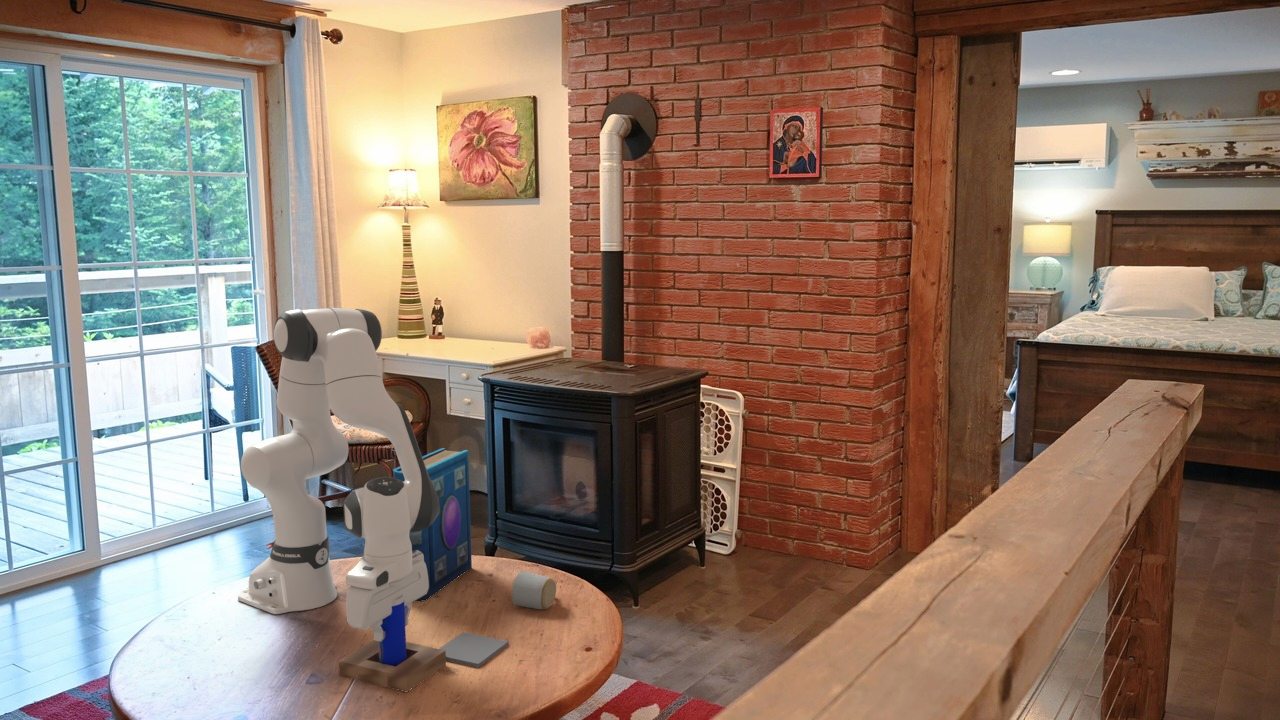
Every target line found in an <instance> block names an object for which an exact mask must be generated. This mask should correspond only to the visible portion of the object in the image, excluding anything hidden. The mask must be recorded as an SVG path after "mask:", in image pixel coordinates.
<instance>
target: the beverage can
mask: <svg viewBox="0 0 1280 720" xmlns="http://www.w3.org/2000/svg"><path fill="white" fill-rule="evenodd" d="M380 626H381V628H382V630H386V639H384V640H382V641H381V642H379V641H378V651H379V663H382V664H386V665H391V666H395V667H396V666H398V665H399V664H401V663H402V662H404V661H405V660H407V657H406V642H407V637H406V636H407V635H406V633H407V631H406V626H405V606H404V598H403V595H402V596H401V597H399V598H398V599H395V600H393V602H392V613H391V615H389V616H388V617H386V618H384V619H382V625H380Z"/></svg>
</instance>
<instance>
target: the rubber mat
mask: <svg viewBox="0 0 1280 720" xmlns="http://www.w3.org/2000/svg"><path fill="white" fill-rule="evenodd" d="M509 642H510V641H508V640H506V639H505V640H504V639H498V638H496V637H488V636H485V635H480V634H474V633H469V632H466V631H465V632H464V631H463V632H461V633H460V634H459V635H457V636H455V637H454V638H452V639H451V640H449V642H447V643H445V644H444V645H442V646H441V647H439V648H438V649H442V650H446V662H450V663H454V664H455V663H456V664H460V665H464V666H469V667H472V666H473V668H477V669H479V668H480V667H482V666H483V665H484V664H485V663H487V662H488V661H489V660H490V659H493V657H496V655H498V654H499V653H500V652H502V651H503V650H504V649H505V648H507V647H508V646H509V644H510V643H509Z"/></svg>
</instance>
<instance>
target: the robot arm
mask: <svg viewBox="0 0 1280 720" xmlns="http://www.w3.org/2000/svg"><path fill="white" fill-rule="evenodd" d="M380 322H381V321H379V318H378V317H377V315H376V314H375V313H374V312H372V311H369V310H366V309H361V308H355V309H353V308H352V309H351V308H342V307H341V308H340V307H327V308H312V309H311V308H310V309H300V308H299V309H297V308H296V309H291V310H287V311H285V312H281V314H279V316H278V317H277V319H276V321H275V323H274V326H273V327H274V328H273V342H274V346H275V349H276V352H278V353H279V355H281V356H282V358H281V363H280V368H279V369H280V370H279V375H278V376H279V378H278V383H277V396H276V407H277V409H278V411H279V412H280V414H282V415H283V416H284V417H285V418H287V419H289V420H290V421H292V429H291V431H290V432H289V433H286V434H283V435H281V434H280V435H277V436H273V437H269V438H265V439H263V440H261V441H259V442H257V443H254V444H253V445H251V446H249V447H247V448H246V449H245V450H244V452H243V454H242V456H241V460H240V468H241V469H240V470H241V474H242V476H243V479H244V480H245V481H246V483H247V484H249V485H250V486H251V487H252V488H254V489H257V490H258V491H259V492H260V493H262V494H263V495H264V496H265V498H266V500H267V501H268V504H269V506H270V508H271V512H272V517H273V526H274V527H273V528H274V529H273V530H274V537H275V538H274V539H275V540H274V541H273V542H270V543H267V544H266V545H265V546H267V547H266V550H269V549H271V550H270V553H269V556H268V557H267V558H266V559H265V560H264V561H262V562H261V563H260V564H258V565H257V566H256V567H255V568H254V569H253V570H252V571H251V573H250V574H249V579H248V588H245V589H243V590H242V591H241V592H240V593H238V597H237V601H239V602H242V603H244V604H247V605H250V606H252V607H255V608H257V609H259V610H261V611H265V612H267V613H270V614H273V615H281V614H285V613H289V612H290V613H291V612H299V611H300V612H301V611H309V610H312V609H315V608H316V609H317V608H320V607H323V606H326V605H328V604H330V603H332V602H333V601H335V600H336V598H337V597H338V592H337V589H336V582H335V580H334V577H333V571H332V570H333V569H332V564H331V559H330V550H331V549H330V544H331V543H330V539H329V535H327V515H326V514H327V513H326V506H325V505H324V503H323V501H322V500H320V499H319V498H317V497H316V496H314V495H311V494H308V491H307V489H306V480H309V479H312V478H316V477H320V476H323V475H327V474H328V473H330V472H332V471H334V470H336V469H337V468H340V467H342V466H343V465H344V464H345V463H346V461H347V459H348V456H349V453H350V452H349V443H348V440H347V438H346V436H345V435H344V434H343V432H342V431H341V430H340V429H338V428H337V427H336V426H335V425H334V423H333V420H332V416H331V413H332V414H333V415H334V416H335V417H336V418H337V419H338V420H340V421H341V422H342V423H344V424H346V425H348V426H350V427H353V428H356V429H360V430H365V431H370V432H372V433H375V434H379V435H381V436H383V437H384V438H386V439H387V440H389V441H390V443H391V444H392V447H393V449H394V451H395V454H396V456H397V459H398V464H399V467H400V466H401V469H402V472H403V475H404V478H405V481H404V482H403V481H401V480H399V479H397V478H394V476H392V477H391V476H380V477H376V478H372V479H371V480H369V481H367V482H366V483H365V484H364V485H363V487H359V488H357V489H356V488H355V489H354V490H352V491H350V492H349V493H348V495H347V496H346V497H345V499H344V501H343V503H342V505H343V506H342V508H343V524H344V529H345V530H346V531H348V532H349V533H350V534H352V535H353V536H354V537H357V538H359V539H361V538H362V539H364V541H365V542H364V543H365V544H364V549H363V556H362V557H361V558H360V559H359V561H357V564H355V566H353V567H352V569H351V570H349V572H347V573H346V575H345V584H346V585H347V586H349V588H348V589H347V592H346V597H345V598H346V599H345V601H346V604H345V605H346V607H345V608H346V620H347V624H348V625H349V626H350V627H351V628H353V629H358V630H362V631H363V630H367V629H369V628H370V630H371V631H372V632H373V640H375V641H379V642H381V641H382V640H384V639H386V630H382V628H381V626H380V625H382V619H384V618H386V617H388V616H389V615H391V613H392V602H393V600H395V599H398V598H399V597H401V596H402V595H403V598H404V606H405V627H407V626H408V625H409V616H410V614H411V610H412V607H413V604H412V603H414V602H413V601H415V600H417V599H419V598H420V597H422V596H424V595H425V594H427V592H428V589H429V580H428V573H427V567H426V564H425V562H424V555H423V554H422V552H420V551H419V550H414V551H413V552H412V544H411V541H410V538H409V532H410V531H412V530H425V529H427V528H428V527H429V526H430V525H431V524H432V523H433V522H434V521H435V519H436V518H437V516H438V515H439V512H440V504H439V499H438V495H437V493H436V490H435V488H434V485H433V483H432V481H431V479H430V477H429V475H428V472H427V469H426V467H425V464H424V461H423V458H422V457H423V455H422V452H421V450H420V446H419V444H418V441H417V438H416V435H415V432H414V428H413V427H412V424H411V422H410V419H409V416H408V415H407V412H406V409H405V408H404V407H403V406H402V404H401V403H397V402H396V401H394V400H393V399H392V397H391V396H390V394H389V393H388V392H387V391H388V390H386V388H385V385H384V382H383V376H382V375H383V374H382V371H381V365H380V361H379V357H378V354H377V351H378V349H379V347H380V345H381V343H382V335H383V330H382V326H381V323H380Z"/></svg>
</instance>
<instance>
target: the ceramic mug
mask: <svg viewBox="0 0 1280 720" xmlns="http://www.w3.org/2000/svg"><path fill="white" fill-rule="evenodd" d="M556 594H557V585H556V582H555V580H554V579H553V578H551V577H549V576H546V575H542V574H539V573H538V574H536V573H533V572H529V571H526V570H521V571H519V572H518V573H517V574H516V576H515V577H514V579H513V583H512V586H511V601H512V603H513V604H514V605H515V606H517V607H525V608H529V609H535V610H536V609H537V610H548V609H550V608H551V607H552V605H553V603H554V601H555V600H556Z"/></svg>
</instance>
